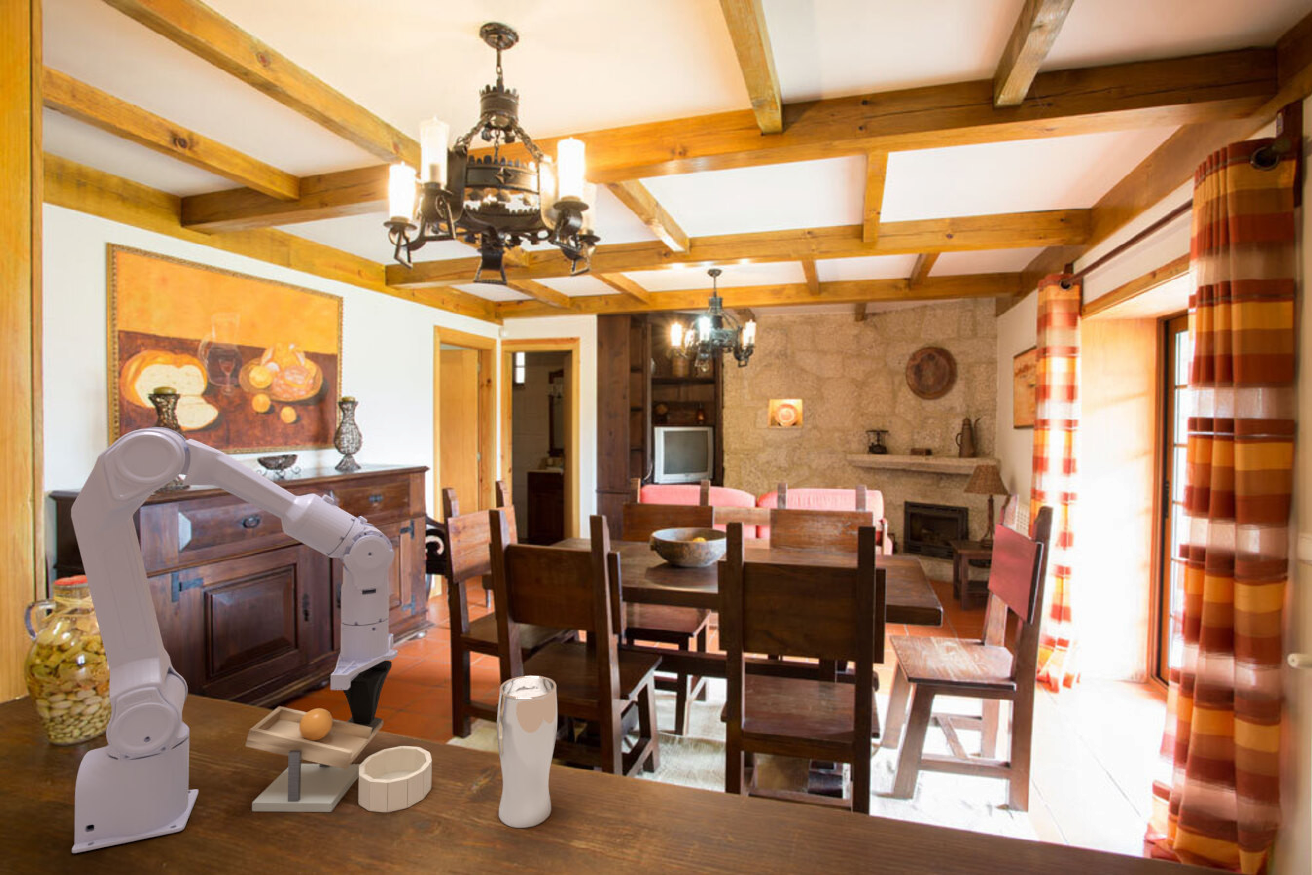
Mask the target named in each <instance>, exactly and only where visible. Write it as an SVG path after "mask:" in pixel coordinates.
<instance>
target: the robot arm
mask: <svg viewBox="0 0 1312 875" xmlns="http://www.w3.org/2000/svg"><path fill="white" fill-rule="evenodd" d="M94 463H95V464H94V465H93V468H92V470H91V472H90V474H89V476H88V477H87V479H86V480H85V483H84V484H83V486H82V488H81V490H80V491H79V493H78V495H77V497H76V499H75V500H74V502H73V504H72V506H71V508H70V518H71V521H72V526H73V529H74V534H75V537H76V542H77V545H78V549H79V553H80V557H81V561H82V566H83V569H84V573H85V577H86V581H87V586H88V589H89V593H90V598H91V601H92V605H93V609H94V613H95V616H96V621H97V625H98V629H99V633H100V637H101V641H102V645H103V649H104V653H105V658H106V660H107V665H108V668H109V688H108V689H109V693H108V694H109V702H110V707H111V714H110V718H109V721H108V723H107V725H106V731H105V736H106V741H107V743H108V744H107V745H106V746H103V747H99V748H95V749H91V750H89V751H87V752H86V753H85V755H83V758H82V760H81V762H80V765H79V768H78V771H77V776H76V781H75V789H74V792H75V793H74V843H73V844H74V845H73V846H72V848H71V853H72V854H77V853H82V852H87V851H92V850H96V849H101V848H105V847H106V848H107V847H111V846H115V845H121V844H126V843H130V842H135V841H140V840H144V839H149V838H154V837H160V836H164V835H169V834H174V833H179V832H181V831H183V830H184V829H185V828H186V826H187V822H188V819H189V818H190V815H191V812H192V810H193V808H194V805H195V804H196V800H197V798H198V796H199V789H197V788H196V789H194V788H193V789H189V786H190V785H189V781H190V779H189V778H190V776H189V775H190V774H189V773H190V768H189V767H190V727H189V726H188V725H187V724H186V723H185V722H184V721H183V708H184V704H185V702H186V700H187V697H188V693H189V691H188V690H189V689H188V685H187V684H188V683H187V682H186V681H187V680H185V679H184V677H183V676H182V675H181V674H179V672H177V671H176V669H175V668H174V667H173V664H172V661H171V656H170V655H169V653H168V651H167V650H166V649H165V647H164V642H163V639H162V635H161V630H160V626H159V622H158V618H157V617H158V616H157V613H156V609H155V605H154V600H153V598H152V593H151V588H150V583H149V580H148V575H147V571H146V568H145V567H146V566H145V564H144V559H143V556H142V555H143V554H142V551H141V546H140V543H139V542H140V541H139V539H138V534H137V531H136V526H135V522H134V514H135V513H136V512H137V511H138V510H139V508H141V506H143V504H144V503H145V502H146V501H147V500H148V499H149V498H150V496H152V495H153V493H154V492H156V491H158V490H161V489H162V488H163V487H165V486H166V485H169V483H171V482H173V481H174V480H175V479H177V478H178V477H179V475H183V476H184V475H185V476H184V479H183V482H182V486H215V487H218V488H220V489H222V490H223V491H226V492H227V493H229V494H231V495H234V496H236V497H237V498H238V499H239V498H240V499H241V500H243V501H245V502H247V503H249V504H252V505H253V506H255V507H257V508H260V509H261V510H264V511H266V512H267V513H269V514H271V515H274V516H275V517H278V518H279V519H280V520H281V527H282V531H283V533H284V534H285V535H287V536H288V537H291V538H293V539H294V540H297V541H299V542H300V543H301V544H303V545H305V546H308V547H309V548H311V549H313V550H315V551H317V552H319V553H320V554H323V555H325V556H326V557H329V558H332V559H333V558H335V559H336V558H339V559H340V561H341V562H342V563H343V564H344V565H343V566H342V584H341V588H340V589H341V590H340V591H341V593H340V594H341V595H340V653H339V654H338V657H337V661H336V665H335V668H334V671H333V672H332V673H331V674H330V691H342V692H343V693H344V695H345V697H346V700H347V702H348V707H349V709H350V710H349V711H350V714H351V717H352V718H353V721H354V723H355V724H370V723H371V722H372V721H373V720H374V717H376V713H377V709H378V705H379V701H380V696H381V693H382V689H383V687H384V683H385V681H386V679H387V676H388V674H389V673H390V671H391V669H392V665H393V662H392V661H393V660H395V658H397V656H398V650H397V649H393V648H394V639H395V638H394V633H390V632H389V631H390V630H389V629H390V627H389V626H390V625H389V624H390V620H389V619H390V582H389V574H390V572H389V568H390V566H391V565H392V563H393V561H394V558H395V555H396V554H395V553H396V551H395V550H393V549H394V548H393V544H392V543H391V540H390V538H389V537H387V536H386V535H385V533H383V532H382V531H381V530H379V529H378V528H377V527H376V526H375V525H373V524H372V523H368V519H366V518H365V517H364V516H362V515H360V516H358V517H356V516H354V515H352V514H351V513H349V512H347V511H346V510H344V509H342V508H340V507H339V506H337V505H335V504H334V502H335V499H334V498H333V497H331V496H329V495H327V494H323V496H320V495H318V494H316V493H308V494H304V495H295V494H293V493H292V492H289V491H288V490H287V489H285V488H283V487H281V486H280V485H278V484H277V483H275V482H273V481H272V480H270V479H268V478H267V477H265V476H264V475H262V474H260V473H258V472H257V471H255V470H254V469H252V468H250V467H248V465H245V464H244V463H242V462H240V461H238V460H237V459H236V458H233V457H232V456H230V455H228V454H227V453H225V452H223V451H221V450H219V449H216V448H214V447H212V446H210V445H207V444H205V443H203V442H201V441H198V440H195V439H193V438H189V439H186V438H185V437H184V436H183V435H182V434H180V433H179V432H177V431H175V430H174V429H171V428H167V427H161V426H160V427H159V426H153V427H152V426H151V427H146V428H140V429H137V430H133V431H130V432H128V433H126V434H124V435H122V436H121V437H119V438H118V439H117V440H116V441H114V442H113V443H112V444H111V445H110V446H108V447H107V448H106V449H105V450H103V451H102V452H101V453H100V454H99V455H98V456H97V458H96V461H95V462H94Z"/></svg>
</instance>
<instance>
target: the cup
mask: <svg viewBox="0 0 1312 875" xmlns="http://www.w3.org/2000/svg"><path fill="white" fill-rule="evenodd" d="M432 762H433V760H432V754H431V753H430V751H427V750H426V749H424V748H422V747H420V746H409V745H400V746H395V747H389V748H385V749H382V750H379V751H377V752H375V753H372V754H370V755H369V756H367V757H366V758H365V759H364V760H363V761H362V762H361V763H359V764H360V765H359V777H358V784H357V785H358V786H357V787H358V788H357V789H358V790H357V792H358V793H357V794H358V795H357V802H358V806H360V807H362V808H363V809H365V810H367V811H369V812H377V813H378V812H379V813H391V812H394V811H395V812H396V811H399V810H403V809H407V808H410V807H412V806H413V805H415V804H417V803H419V802H420V801H422V800H424V799H425V797H426V796H427V795H428V793H429V792H430V791H431V789H432V765H433V763H432Z"/></svg>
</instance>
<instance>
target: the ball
mask: <svg viewBox="0 0 1312 875" xmlns="http://www.w3.org/2000/svg"><path fill="white" fill-rule="evenodd" d="M332 718H333V716H332V714H331V713H330V711H328V710H327V709H325V708H321V707H320V708H319V707H318V708H313V709H311V710H310V711H309V710H308V711H307V713H306V714H305V715H304V716H303V718H302V719H301V721H300V724H299V731H300V734H301V735H302V736H303V737H304V738H305V739H307V740H311V741H314V740H319V739H321V738H323V737H324V736H325V735H327V734H328V732H329V731H330V729H331V727H332V722H333V721H332Z"/></svg>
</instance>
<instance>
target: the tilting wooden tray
mask: <svg viewBox="0 0 1312 875" xmlns="http://www.w3.org/2000/svg"><path fill="white" fill-rule="evenodd" d="M307 712H308V711H307ZM307 712H306V711H302V710H298V709H294V708H289V707H285V706H282V705H281V706H280V705H279V706H277V707H276V708H274V710H272V711H271V712H270V713H269V714H268V715H266V716H265V717H264V718H262V719H261V720H260V721H259V722H257V723H256V724H254V726H252V727H251V728H249V731H248V735H247V739H246V742H245V747H248V748H252V749H256V750H260V751H265V752H269V753H273V754H277V755H281V756H282V755H283V756H288V754H289V752H290V751H291V750H301V760H304V761H308V762H313V763H315V764H320V763H321V764H325V765H329V766H334V767H338V768H342V769H347V768H348V767H349V766H350V764H352V763H353V762H354V761H355V760H356V759H357V758H358V756H359V755H360V754H361V752H362V751H363V750H364V749H365V747H367V745H369V743H370V742H371V741H372V739H373V738H374V737H375V736H376V735H377V733H378V732H379V731H380V730H381V729H382V728H383V725H384V720H383V718H380V717H376V716H375V717H374V720H373V721H372V722H371V723H370V724H355V723H354V721H353V718H352V716H350V718H349V719H348V720H347V721H346V720H341V719H336V718H333V717H332V721H333V722H332V727H331V729H330V731H329V732H328V734H327V735H325V736H324V737H323V738H321V739H319V740H314V741H311V740H307V739H305V738H304V737H303V736H302V735H301V734H300V731H299V724H300V721H301V719H302V718H303V716H304V715H305V714H306V713H307Z"/></svg>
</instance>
